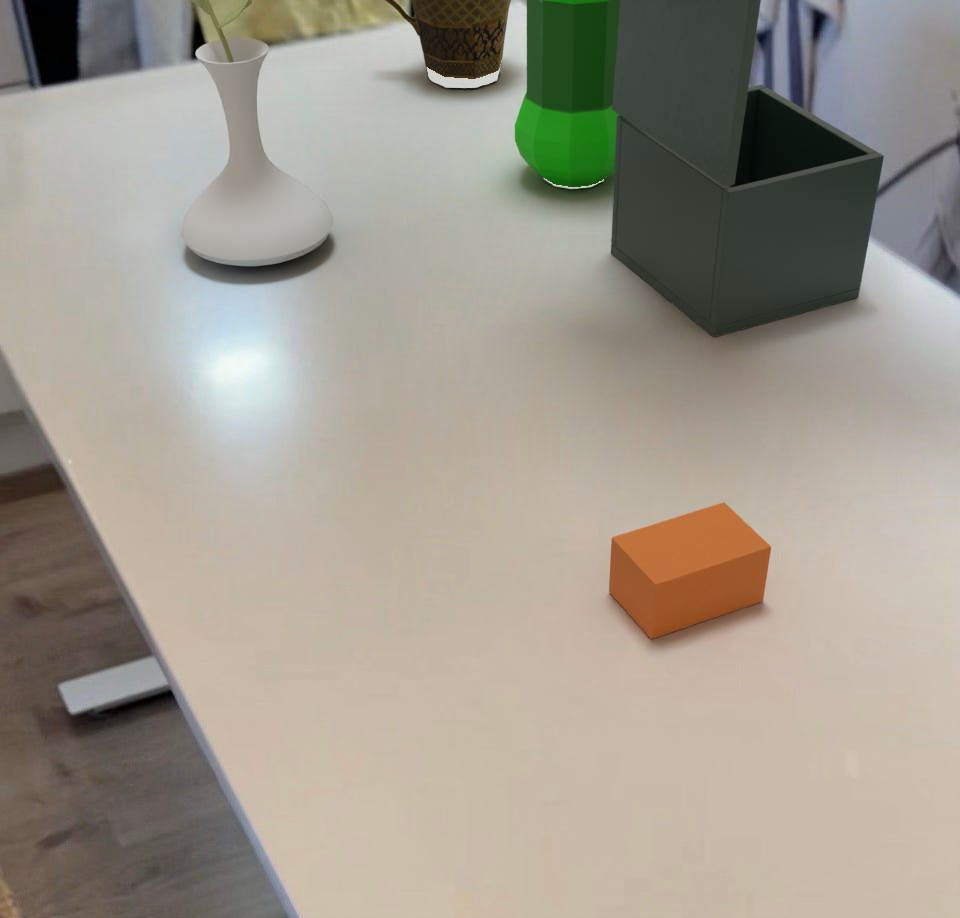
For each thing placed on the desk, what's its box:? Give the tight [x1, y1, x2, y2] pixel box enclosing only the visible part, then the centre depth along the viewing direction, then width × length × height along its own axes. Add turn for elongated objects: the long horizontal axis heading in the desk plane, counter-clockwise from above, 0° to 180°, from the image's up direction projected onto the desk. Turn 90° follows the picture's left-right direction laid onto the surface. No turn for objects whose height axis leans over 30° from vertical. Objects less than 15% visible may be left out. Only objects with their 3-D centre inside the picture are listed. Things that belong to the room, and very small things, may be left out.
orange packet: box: [608, 502, 772, 640], centre depth 74 cm, size 7×5×4 cm, turn 116°
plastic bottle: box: [514, 0, 620, 187], centre depth 104 cm, size 10×10×25 cm
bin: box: [610, 84, 885, 338], centre depth 97 cm, size 12×14×10 cm
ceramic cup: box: [384, 0, 512, 79], centre depth 125 cm, size 13×10×10 cm
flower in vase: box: [180, 0, 334, 267], centre depth 97 cm, size 13×11×25 cm
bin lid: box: [612, 0, 762, 186], centre depth 87 cm, size 13×14×5 cm
